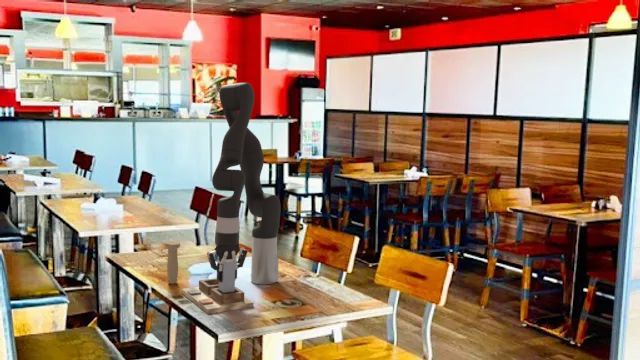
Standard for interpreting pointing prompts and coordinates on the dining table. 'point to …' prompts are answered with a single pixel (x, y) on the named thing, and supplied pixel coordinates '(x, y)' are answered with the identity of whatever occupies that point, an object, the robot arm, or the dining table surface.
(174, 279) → the handle
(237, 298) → the socket board
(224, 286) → the plug
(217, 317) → the dining table surface
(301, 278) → the dining table surface
